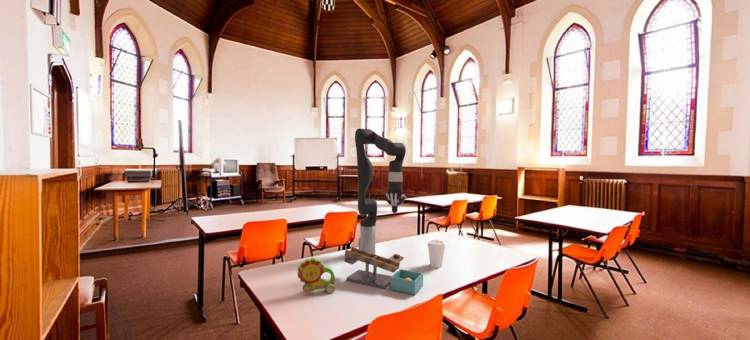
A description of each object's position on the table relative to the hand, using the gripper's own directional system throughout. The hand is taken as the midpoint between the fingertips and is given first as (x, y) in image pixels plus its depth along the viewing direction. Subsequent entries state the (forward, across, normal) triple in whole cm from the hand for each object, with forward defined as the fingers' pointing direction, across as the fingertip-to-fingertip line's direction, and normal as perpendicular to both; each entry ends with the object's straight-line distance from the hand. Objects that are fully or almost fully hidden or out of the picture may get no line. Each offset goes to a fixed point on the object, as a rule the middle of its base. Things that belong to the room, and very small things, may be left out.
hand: (394, 212), depth 172 cm
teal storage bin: (+29, +16, -23) cm, 40 cm away
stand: (+29, -2, -23) cm, 37 cm away
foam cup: (+29, +20, +12) cm, 37 cm away
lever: (+23, -2, -17) cm, 29 cm away
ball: (+26, +16, -23) cm, 39 cm away
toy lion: (+29, -17, -46) cm, 57 cm away
